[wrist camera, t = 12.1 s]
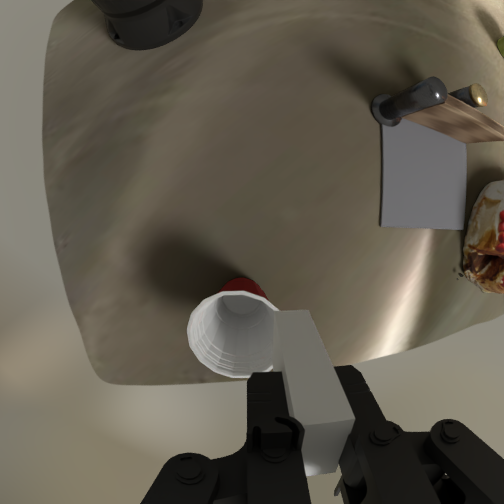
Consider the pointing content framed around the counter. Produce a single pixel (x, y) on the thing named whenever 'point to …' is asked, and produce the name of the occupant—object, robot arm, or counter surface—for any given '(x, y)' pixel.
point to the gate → (458, 122)
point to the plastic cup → (234, 330)
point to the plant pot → (501, 45)
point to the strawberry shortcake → (486, 240)
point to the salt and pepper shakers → (422, 100)
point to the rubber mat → (422, 178)
